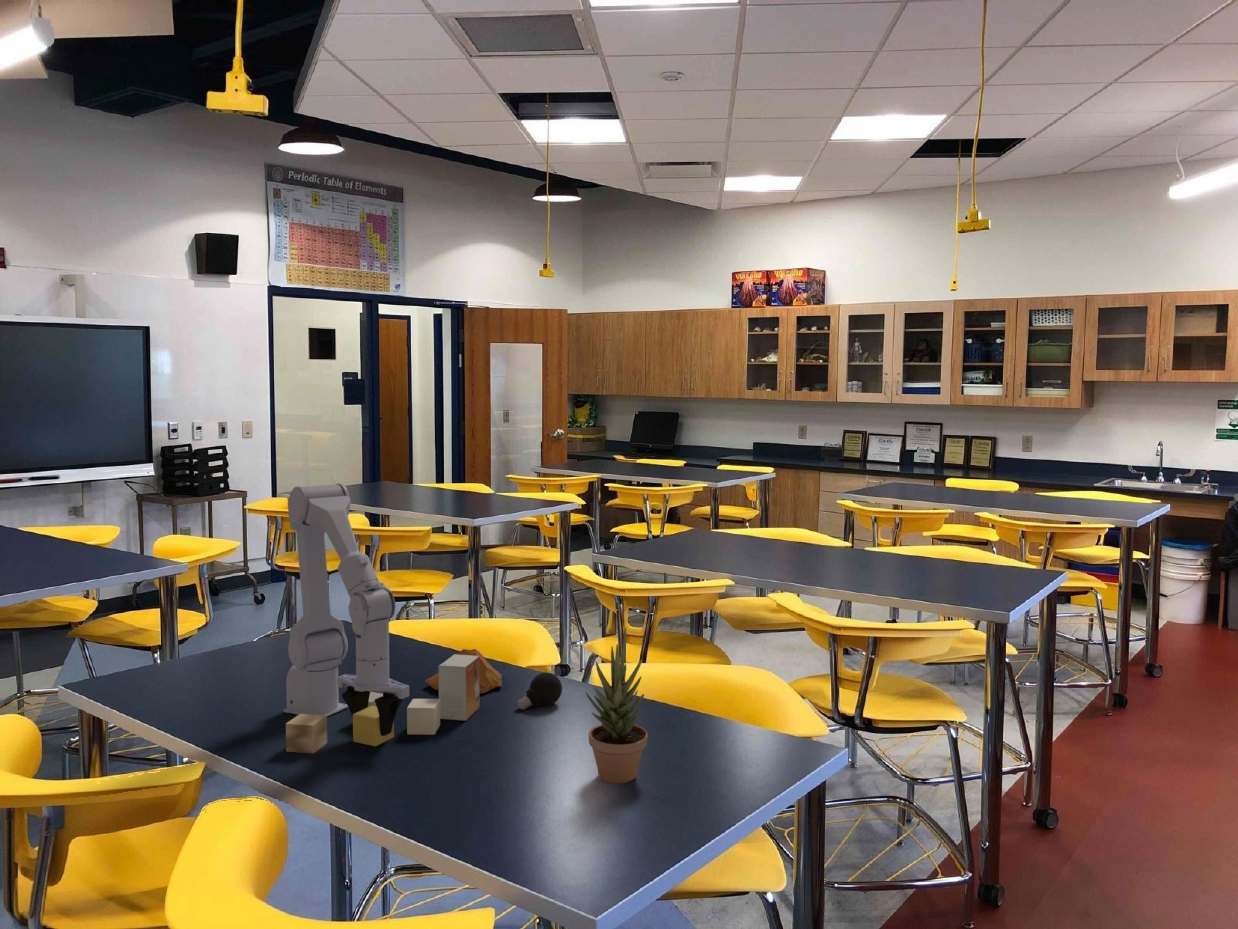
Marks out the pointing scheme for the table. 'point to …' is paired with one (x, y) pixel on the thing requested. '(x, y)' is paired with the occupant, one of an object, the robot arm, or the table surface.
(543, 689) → the light bulb
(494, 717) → the table surface
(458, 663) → the small box
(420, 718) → the white cube
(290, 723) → the maple cube
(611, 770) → the potted plant
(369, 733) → the mustard cube
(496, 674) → the stone
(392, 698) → the robot arm
